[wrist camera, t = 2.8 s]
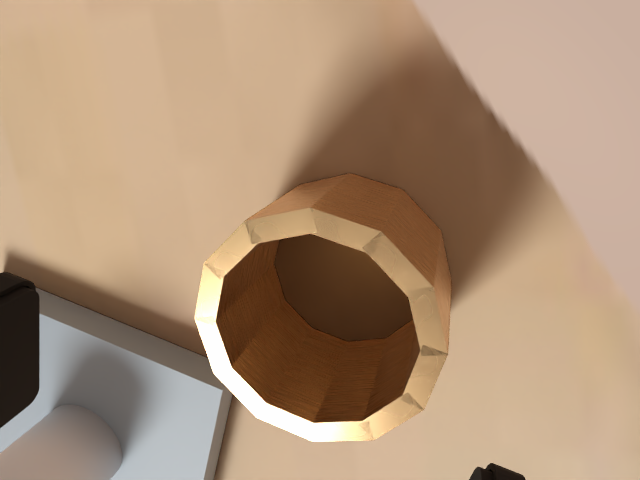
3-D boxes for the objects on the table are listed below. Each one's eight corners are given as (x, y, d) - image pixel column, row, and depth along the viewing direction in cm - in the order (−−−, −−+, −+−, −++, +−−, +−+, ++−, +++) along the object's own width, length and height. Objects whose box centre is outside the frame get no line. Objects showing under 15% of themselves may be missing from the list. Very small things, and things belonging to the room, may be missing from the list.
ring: (478, 213, 16) (485, 266, 12) (411, 381, 19) (395, 476, 15) (281, 150, 18) (218, 176, 13) (245, 317, 20) (182, 386, 16)
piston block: (238, 370, 21) (152, 482, 15) (196, 555, 26) (119, 694, 20) (2, 273, 24) (-152, 339, 18) (4, 461, 28) (-116, 561, 23)
